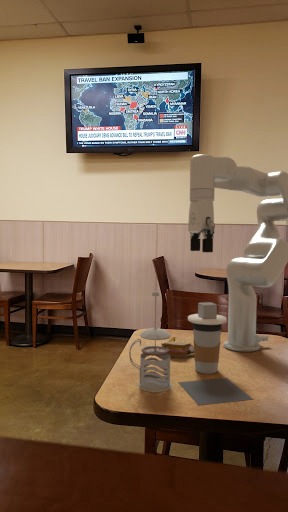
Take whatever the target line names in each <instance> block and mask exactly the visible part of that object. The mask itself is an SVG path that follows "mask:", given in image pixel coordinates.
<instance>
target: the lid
mask: <svg viewBox="0 0 288 512" xmlns="http://www.w3.org/2000/svg"><path fill="white" fill-rule="evenodd" d="M217 306H218V305H217V304H216V303H214V302H212V301H211V302H209V301H208V302H198V303H197V313H193V314H190V315H188V316H187V321H188V322H190V323H192V324H193V323H196V324H203V325H218V324H221V325H222V324H223V325H224V324H226V323H228V320H227V319H228V317H226V316H224V315H222V314H217V313H218V310H217V308H218V307H217Z"/></svg>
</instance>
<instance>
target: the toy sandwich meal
mask: <svg viewBox="0 0 288 512" xmlns="http://www.w3.org/2000/svg"><path fill="white" fill-rule="evenodd" d="M161 347H164V348H168V350H169V352H168V353H167V354H169V355H170V358H183V359H184V358H191V357H194V344H191V343H190V342H183V341H176V336H173V337H172V338H170V339H168V341H167V342H164V343H161Z"/></svg>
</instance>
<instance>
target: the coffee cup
mask: <svg viewBox="0 0 288 512" xmlns="http://www.w3.org/2000/svg"><path fill="white" fill-rule="evenodd" d="M192 329H193V338H192V339H193V347H194V356H193V357H194V368H195V369H194V370H195V371H196V372H198V373H200V374H206V375H207V374H209V375H210V374H215V373H217V372H218V369H219V362H220V361H219V360H220V351H221V334H222V333H221V332H222V329H223V328H222V324H218V325H203V324H196V323H192Z"/></svg>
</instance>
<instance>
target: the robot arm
mask: <svg viewBox="0 0 288 512" xmlns="http://www.w3.org/2000/svg"><path fill="white" fill-rule="evenodd" d="M189 162H190V163H189V164H190V165H189V174H190V175H189V202H190V203H189V209H188V210H189V211H188V222H187V223H188V226H187V227H188V228H187V231H188V232H189V234H190V236H189V237H190V238H189V239H190V241H189V242H190V245H189V246H190V248H189V249H190V252H200V251H201V252H202V253H213V252H214V250H213V249H214V239H215V238H214V237H215V236H214V235H215V227H216V223H215V209H214V201H215V189H221V190H227V191H236V192H243V193H246V194H250V195H252V196H256V197H260V198H262V197H263V198H265V197H267V198H268V197H277V198H268V199H264V200H262V201H260V203H258V205H257V207H256V218H257V230H256V232H255V233H254V235H253V236H252V237H251V238H250V240H249V241H248V242H247V244H246V246H245V247H244V250H243V257H235V258H232V259H230V261H228V263H227V265H226V267H225V268H226V269H225V274H226V280H227V286H228V287H227V288H228V313H227V314H228V316H227V319H228V320H227V323H228V324H227V339H226V340H224V341H222V342H223V343H222V345H223V347H224V348H225V349H227V350H231V351H235V352H242V353H243V352H244V353H245V352H256V351H258V350H260V348H261V344H260V342H268V341H269V336H268V335H261V334H257V332H256V331H257V304H258V303H257V301H258V300H257V295H256V292H255V290H254V287H259V288H270V287H272V286H273V285H274V284H275V283H276V282H277V280H278V278H279V277H280V275H281V274H282V273H283V271H284V270H285V267H286V265H287V264H288V241H287V240H285V239H284V238H281V236H280V232H279V229H278V227H277V226H276V223H275V222H287V221H288V172H287V171H284V170H281V171H279V170H278V171H273V172H264V171H261V170H257V169H256V168H252V167H250V166H241V165H239V166H237V162H236V161H235V160H234V159H233V158H231V157H229V156H213V155H211V154H204V153H203V154H202V153H201V154H195V155H193V156H191V158H190V160H189ZM278 196H281V197H278ZM201 234H202V240H201V238H200V237H201ZM201 242H202V243H201ZM201 247H202V248H201Z"/></svg>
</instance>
